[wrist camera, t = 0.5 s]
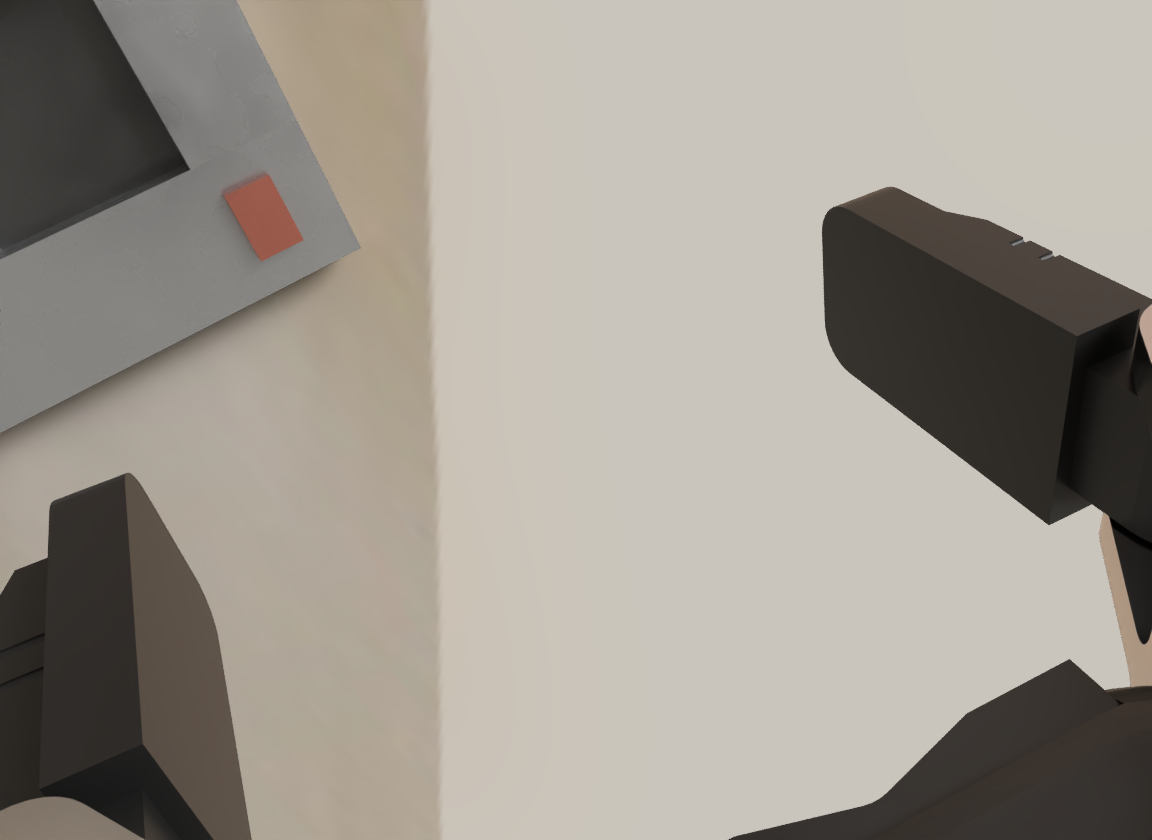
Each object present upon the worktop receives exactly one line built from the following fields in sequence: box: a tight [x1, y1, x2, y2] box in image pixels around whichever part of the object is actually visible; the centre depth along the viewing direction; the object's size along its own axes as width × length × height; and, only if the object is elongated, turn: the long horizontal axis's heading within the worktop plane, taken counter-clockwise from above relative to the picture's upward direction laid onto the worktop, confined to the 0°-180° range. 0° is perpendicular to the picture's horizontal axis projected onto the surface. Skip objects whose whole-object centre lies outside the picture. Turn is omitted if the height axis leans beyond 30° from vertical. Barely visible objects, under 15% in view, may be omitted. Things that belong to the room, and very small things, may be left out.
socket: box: [0, 0, 361, 433], centre depth 30 cm, size 16×14×3 cm
